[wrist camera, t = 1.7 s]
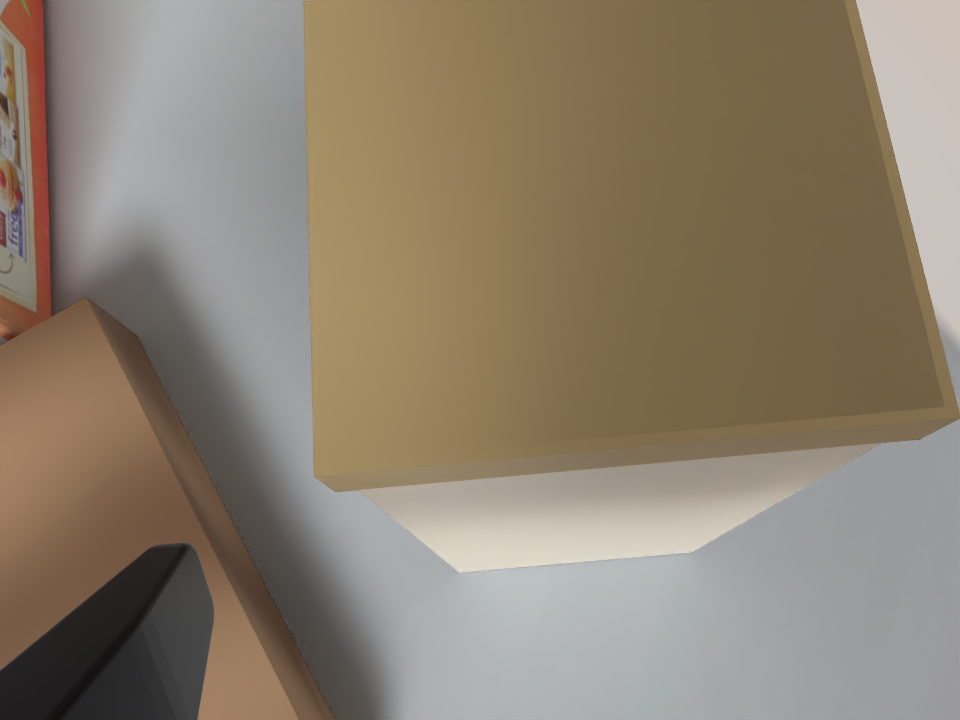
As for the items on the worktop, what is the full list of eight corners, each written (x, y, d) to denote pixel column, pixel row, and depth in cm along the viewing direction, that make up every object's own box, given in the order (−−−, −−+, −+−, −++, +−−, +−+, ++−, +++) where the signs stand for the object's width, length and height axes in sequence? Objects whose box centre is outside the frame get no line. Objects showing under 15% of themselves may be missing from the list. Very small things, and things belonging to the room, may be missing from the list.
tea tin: (696, 556, 19) (961, 417, 7) (454, 577, 19) (313, 476, 7) (665, 349, 20) (841, -59, 8) (440, 370, 21) (303, 1, 9)
